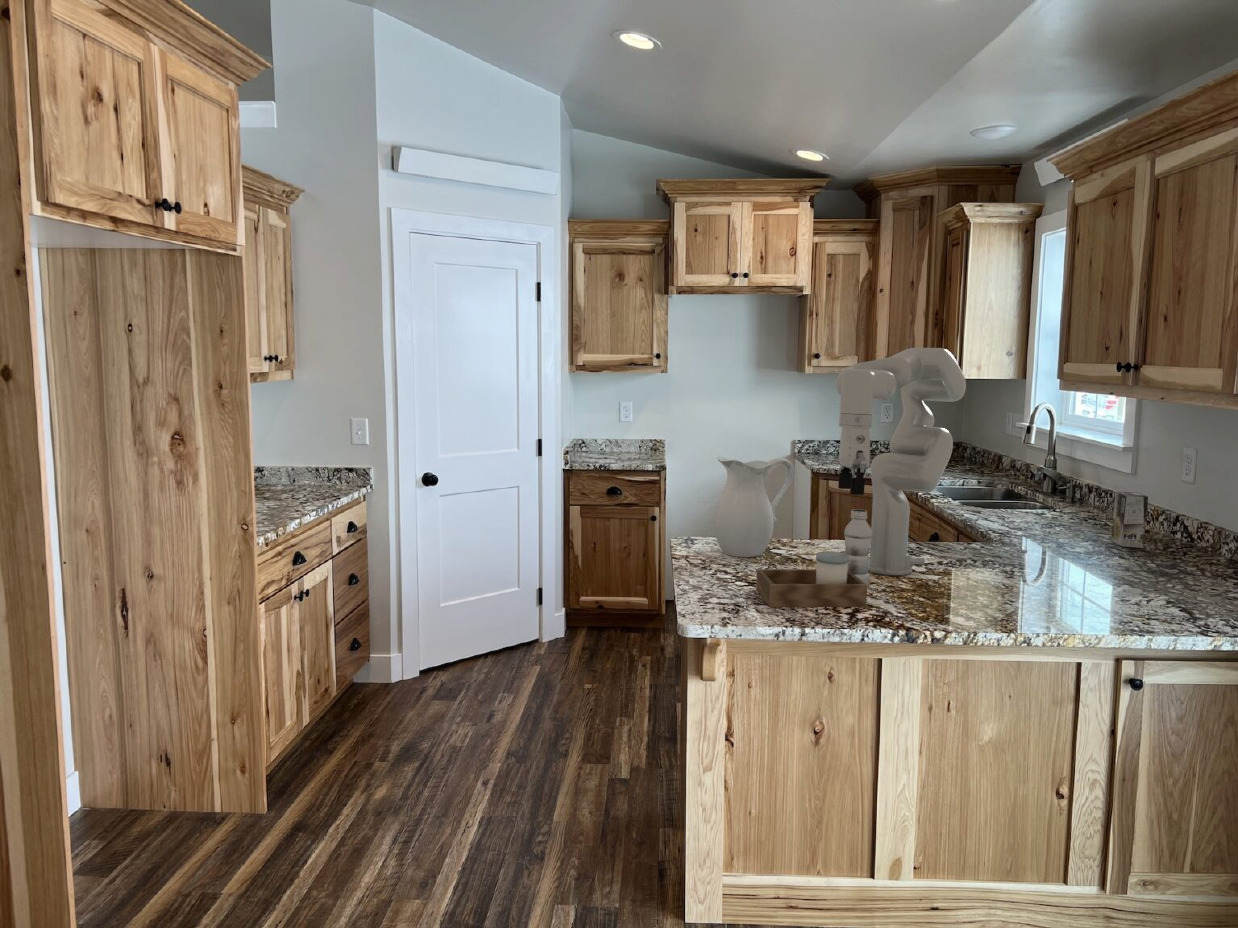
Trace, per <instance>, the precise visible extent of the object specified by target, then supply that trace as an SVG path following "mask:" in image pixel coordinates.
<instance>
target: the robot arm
mask: <svg viewBox="0 0 1238 928" xmlns="http://www.w3.org/2000/svg"><path fill="white" fill-rule="evenodd" d="M835 385H836V390H837V393H838V395H839V396H840V404H839V405H840V406H839V418H838V420H839V421H838V427H839V428H841V433H840V440H839V455H838V462H839V469H838V472H839V473H838V487H837V488H838V489H841V490H843V489H844V490H849V494H850V495H854V496H855V495H857V496H858V495H859V496H863V495H864V494H865V484H866V471H867V470H868V469H869V468H870V476H871V477H870V478H871V485H872V507H871V508H872V511H871V526H870V528H871V530H872V537H871V543H870V548H869V559H868V572H870V573H873V574H879V575H884V576H885V575H886V576H904V575H909V574H912V572H913V567H912V566H913V565H914V564H917V565H924V564H925V563H926V559H925V557H924V556H916V555H911V554H909V553H908V544H909V543H908V542H909V528H910V514H911V513H910V511H911V507H910V503H909V500H908V498H907V496H906V494H905V492H906V491H907V492H914V493H923V494H924V493H925V494H927V493H928V494H929V493H932V492H934V491H935V490H936V489H937V487H938V485H939V484H940V481H941V479H942V477H943V475H944V472H945V470H946V468H947V466H948V463H949V462H950V459H951V456H952V452H953V448H954V442H953V441H954V440H953V435H952V434H951V433H950V431H949V430H947V429H946V428H943V427H938V426H934V424H935V417H934V414H933V413H932V411H931V410H930V408H929V407H928V406H927V405H926V404H925V402H924V401H927V402H929V401H930V402H945V403H946V402H951V403H952V402H954V403H955V402H958V401H960V400H961V399H962V398H963V397H964V395H965V393H966V390H967V381H966V377H965V375H964V372H963V370H962V369H961V367H960V365H959V364H958V362H957V360H956V357H954V355H953V354H952V352H950V351H949V350H948V349H945V348H942V347H911V348H906V349H904V350H902V351H900V352H898V353H895V354H892V355H891V356H889V357H882V358H878V359H873V360H869V361H863V362H859V363H854V364H851V365H849V366H848V367H846V368H844V369H843V370H842V371H840V373H839V374H838V376H837V379H836V383H835ZM897 389H900V395H901V403H902V411H903V413H902V416H901V418H900V421H899V423H898V425H897V426H896V428H895V431H894V433H893V435H892V437H891V439H890V441H889V452H884V453H880V454H878V455H876V456H875V457H874V458H873V459H872V462H870V461H871V434H870V429H872V421H873V420H872V418H873V408H874V407H873V405H874V401H880V402H881V401H887V400H889V399H890V398H892V397H893V396H894V395H895V393H896V391H897Z"/></svg>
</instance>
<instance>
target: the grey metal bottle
mask: <svg viewBox="0 0 1238 928" xmlns="http://www.w3.org/2000/svg"><path fill="white" fill-rule="evenodd" d="M850 518H851V520H850V521H849V522H848V524H847V525H846V526H845V528H844V531H843V532H844V534H843V535H844V544H845V545H844V546H845V550H844V551H845V552H844V553H845V554H847V555H849V562H848V571H850V572H851V573H852V574H854V575H855V576H856V577H858V578H859V579H860V580H861V581H863V582H864V583H865V584H867V589H868V588H869V586H870V585H869V584H870V575H869V574H870V573H869V571H868V561H869V555H870V543H871V537H872V530H871V526H870V524H869V523H868V522H867V519H868V510H866V509H860V508H859V509H858V508H857V509H856V508H854V509H851V511H850Z"/></svg>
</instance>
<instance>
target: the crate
mask: <svg viewBox="0 0 1238 928" xmlns="http://www.w3.org/2000/svg"><path fill="white" fill-rule="evenodd" d="M755 579H756V582H755V590H756V592H757V593H758V594H759V595H760V597H761V598H762V599H763V601H764V602H765V603H766V604H767V606H768V607H769V608H867V600H868V599H867V598H868V588H867V584H865V583H864V582H863V581H861V580H860V579H859V578H858V577H856V576H855V575H854V574H852V573H851V572H850V571H848V570H847V584H816V568H810V569H809V568H795V569H793V568H792V569H791V568H789V569H788V568H787V569H786V568H784V569H783V568H781V569H778V568H777V569H775V568H772V569H771V568H769V569H768V568H765V569H764V568H761V569H760V568H759V569H757V568H756V578H755Z"/></svg>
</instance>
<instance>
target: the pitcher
mask: <svg viewBox="0 0 1238 928" xmlns="http://www.w3.org/2000/svg"><path fill="white" fill-rule="evenodd" d="M717 460H718V463H720V464H721V465H722V466H723V467H724V468H725V470H726V473H727V474H726V475H727V478H726V481H725V484H724V487H723V490H722V492H721V495H720V496H719V499H718V502H717V504H716V508H715V511H714V516H713V517H714V519H713V530H714V535H715V538H716V542H717V544H718V546H719V547H720V549H721V551H722V553H724V554H725V555H728V556H730V557H735V558H736V557H737V558H754V557H760V556H761V555H762V554H763V553H764V552H765V551H766V549H767V547H768V546H769V544H770V542H771V539H772V537H773V532H774V523H776V522H777V521H778V520H777V518H776V514H775V511H776V508H777V506H778V505H779V503H780V501H782V499H783V497H784V496H785V494H786V492H787V491H788V490H789V488H790V486H791V485H792V483H793V481H794V477H795V468H794V466H793V464H792V462H791V461H790V460H788V459H786V458H783V457H780V458H779V457H778V458H774V459H772V460H770V461H764V460H751V461H747V462H743V461H740V460H736V459H728V458H726V457H724V456H718V457H717ZM781 464H782V465H784V466H785V468H786V477H785V481H784V483H783V485H782V487H781V488H780V490H779V491H778V493H777V494H776V496H775V497H774V499H773V500H772V502H771V501H770V499H769V496H768V492H767V490H766V487H765V483H764V478H767V477H768V473H769V471H770V470H771V469H772V468H773V467H775V466H777V465H781Z"/></svg>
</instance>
